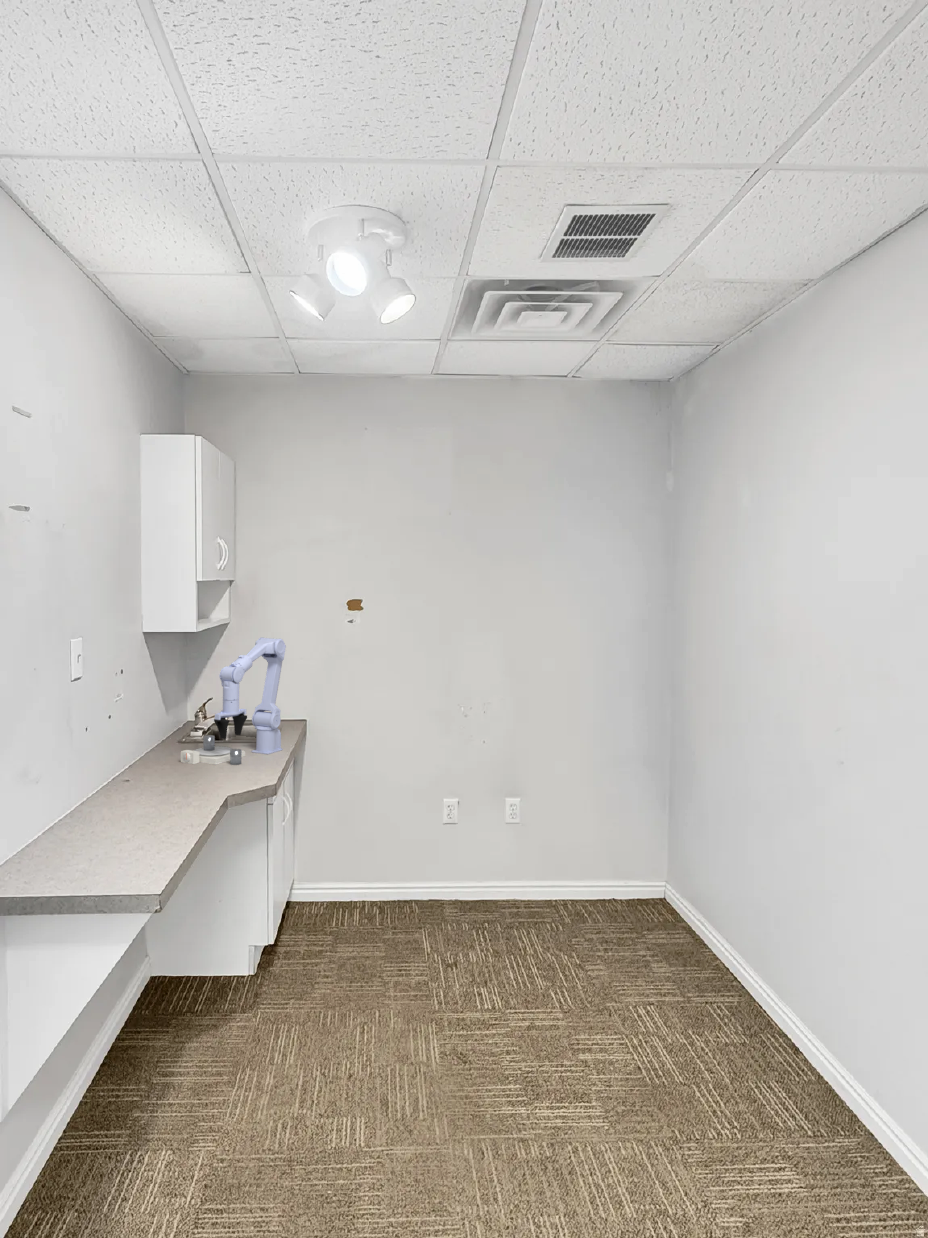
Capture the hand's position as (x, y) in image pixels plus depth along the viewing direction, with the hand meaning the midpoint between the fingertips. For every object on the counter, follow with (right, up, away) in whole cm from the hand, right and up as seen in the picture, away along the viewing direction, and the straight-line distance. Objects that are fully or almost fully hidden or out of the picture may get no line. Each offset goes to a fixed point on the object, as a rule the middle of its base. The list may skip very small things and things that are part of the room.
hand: (230, 736), depth 304 cm
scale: (-9, -9, +5) cm, 14 cm away
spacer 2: (+2, -10, -1) cm, 10 cm away
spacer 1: (-10, -6, +8) cm, 14 cm away
